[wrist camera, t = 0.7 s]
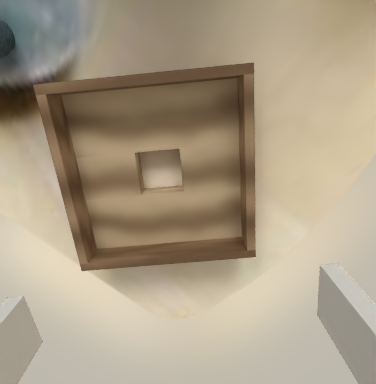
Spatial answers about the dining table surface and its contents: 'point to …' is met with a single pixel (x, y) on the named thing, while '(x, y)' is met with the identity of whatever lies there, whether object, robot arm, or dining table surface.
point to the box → (154, 141)
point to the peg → (5, 39)
